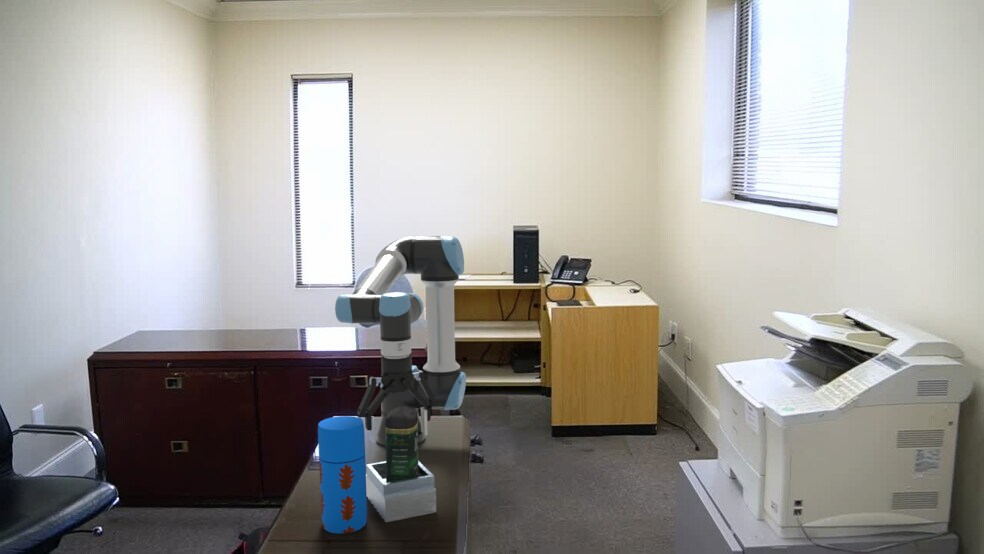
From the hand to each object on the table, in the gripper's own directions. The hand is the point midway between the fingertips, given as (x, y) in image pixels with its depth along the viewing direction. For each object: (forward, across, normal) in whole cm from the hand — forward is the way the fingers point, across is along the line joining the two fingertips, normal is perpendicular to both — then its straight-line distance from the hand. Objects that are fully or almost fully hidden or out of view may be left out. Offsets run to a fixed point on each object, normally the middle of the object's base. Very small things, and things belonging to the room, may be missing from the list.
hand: (398, 437), depth 192 cm
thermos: (+17, -16, -5) cm, 24 cm away
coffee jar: (+11, +1, 0) cm, 11 cm away
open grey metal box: (+17, 0, 0) cm, 17 cm away
